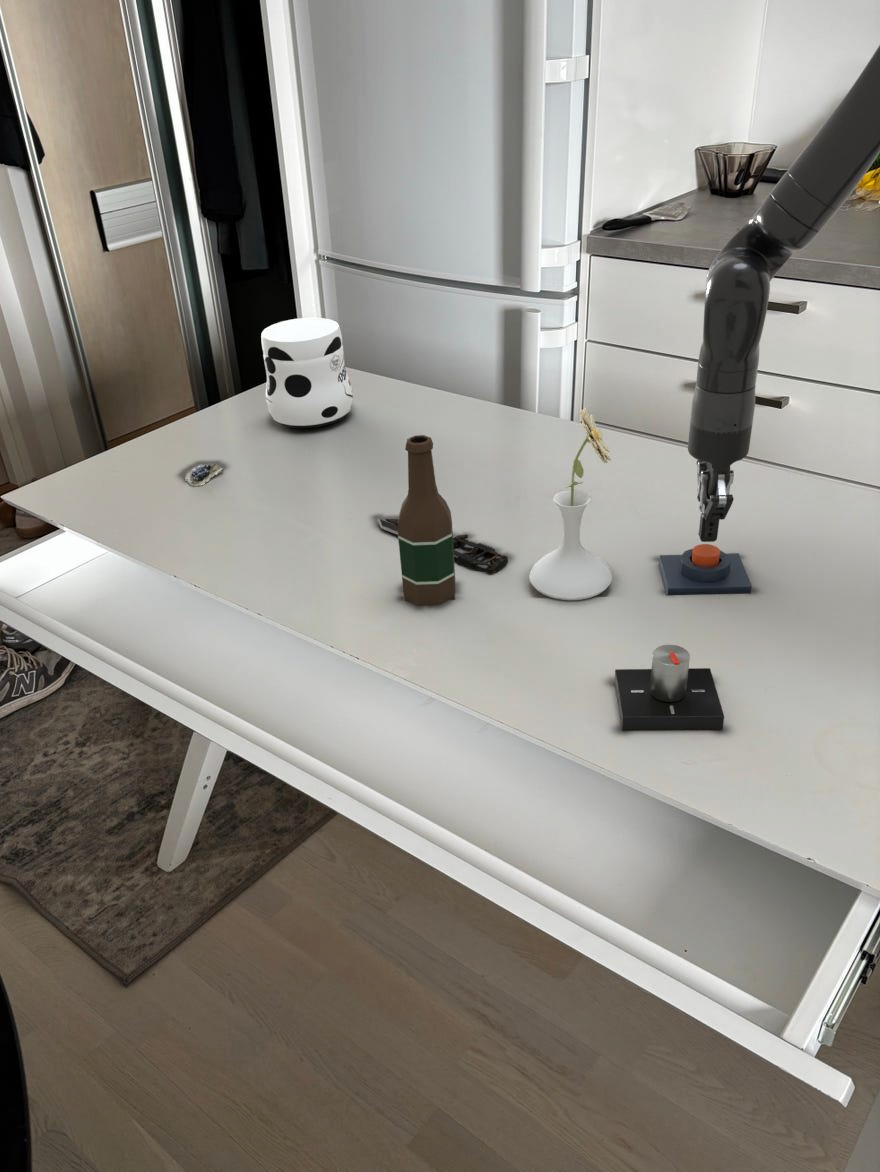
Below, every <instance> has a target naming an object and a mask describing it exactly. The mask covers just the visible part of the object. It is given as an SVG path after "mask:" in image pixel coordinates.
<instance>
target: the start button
mask: <svg viewBox="0 0 880 1172" xmlns="http://www.w3.org/2000/svg"><path fill="white" fill-rule="evenodd" d="M692 549H693V553H692V563H694V564H695V565H699V566H703V567H713V566H716V565H718V563H719V558H720V550H721V549H720V548H719V547H718V546H716V545H714V544H710V543H700V544H697V545H695V546H694V547H693V548H692Z"/></svg>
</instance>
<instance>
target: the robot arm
mask: <svg viewBox="0 0 880 1172" xmlns="http://www.w3.org/2000/svg"><path fill="white" fill-rule="evenodd" d="M879 154H880V44H879V45H878V46H877V48H876V49H875V51H874V53H873V55H872V56H871V58H870V59H869V61H868V62H867V64H866V65H865V66H864V68H863V70H862V71H861V72H860V74H859V76H858V78H857V79H856V81H855V82H854V83H853V85H852V86H851V88H850V89H849V90H848V92H846V94H845V96H844V97H843V99H842V100H841V101H840V102H839V104H838V105H837V107H836V108H835V109H834V110H833V112H832V113H831V114H830V115H829V117H828V118H827V120H826V121H825V122H824V124H823V125H822V126H821V127H820V128H819V130H818V131H817V132H816V134H815V135H814V136H813V137H812V139H811V140H810V141H809V142H808V144H807V145H806V146H805V148H804V149H803V150H802V151H801V152H800V154H799V155H798V156H797V157H796V159H795V160H794V161H793V162H792V164H791V165H790V166H789V168H788V169H787V170H786V172H785V173H784V174H783V175H782V177H781V178H780V179H779V181H778V182H777V183H776V184H775V186H774V187H773V188H772V190H771V191H770V193H768V195H767V196H766V198H764V200H763V202H762V204H761V205H760V206H759V208H758V210H757V211H756V212H755V213H754V214H753V215H752V216H751V217H750V218H749V219H748V220H747V221H746V222H745V224H743V226H742V227H740V228H739V230H738V231H737V232H736V233H735V234H734V235H733V236H732V237H731V238H730V239H729V241H728V242H727V243H726V244H725V245H724V246H723V247H722V249H721V250H720V251H719V252H718V254H717V255H716V256H715V258H714V259H713V261H712V262H711V264H710V266H709V268H708V271H707V274H706V281H705V292H704V307H703V308H704V311H703V328H702V330H703V331H702V342H701V345H700V349H699V353H698V361H697V371H696V380H695V381H696V382H695V387H694V392H693V397H692V401H691V408H690V409H691V413H690V420H689V429H688V430H689V431H688V439H687V440H688V441H687V451H688V454H689V455H690V456H691V457H693V458H694V459H695V460H696V468H697V470H696V473H697V496H696V497H697V502H698V503H699V506H698V510H699V512H700V516H699V517H700V518H699V527H698V537H699V540H700V542H702V543H713V542H716V541H718V535H719V528H720V527H719V526H720V520H725V519H726V517H727V515H728V513H729V511H730V509H731V507H732V505H733V502H734V499H735V498H734V496H733V494H732V493H731V494H730V492H731V491H730V490H731V486H732V484H734V483H733V482H734V476H735V471H734V469H731V466H732V465H733V464H735V463H737V462H739V461H742V460H744V459H745V458H746V457H747V456H748V454H749V451H750V444H751V437H752V430H753V422H754V416H755V408H756V387H757V378H758V370H759V365H760V364H759V362H760V343H761V339H762V334H763V330H764V325H765V322H766V317H767V311H768V306H769V300H770V292H771V281H772V280H773V279H774V277H775V276H776V275H777V273H778V272H780V270H781V269H782V268H783V266H785V264H786V263H787V262H788V260H790V259H791V257H792V256H793V255H794V254H795V253H796V252H800V251H802V250H804V249H805V248H806V247H807V246H809V245H810V244H811V242H813V241H814V240H815V238H816V237H817V236H818V235H819V234H820V232H821V231H823V229H824V228H825V227H826V226H827V224H828V223H829V222H830V221H831V219H832V218H834V216H835V215H836V213H837V212H838V211H839V210H840V208H841V207H842V206H843V204H844V203H846V201H847V200H848V199H849V198H850V196H851V195H852V193H854V191H855V189H856V188H857V187H858V185H859V184H860V183H861V181H862V180H863V178H865V175H866V174H867V172H868V171H869V170H870V168H871V166H872V165H873V164H874V162H875V161H876V159H877V158H878V156H879Z"/></svg>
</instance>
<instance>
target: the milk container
mask: <svg viewBox="0 0 880 1172" xmlns="http://www.w3.org/2000/svg"><path fill="white" fill-rule="evenodd" d="M260 335H261V336H260V339H261V349H262V353H263V354H262V357H263V362H264V368H265V374H266V386H265V402H266V408H267V410H268V414H269V416H270V417H271V418H272V420H273V422H276V423H277V424H279V425H281V426H284V427H287V428H292V429H311V428H319V427H323V426H329V425H331V424H335V423H336V422H339V421H341V420H342V419H343V418H345V417H346V416H347V415H348V414H349V413H350V411H351V410H352V407H353V399H354V398H353V397H354V396H353V395H354V394H353V387H352V383H351V380H350V377H349V375H348V373H347V368H346V365H345V353H344V345H343V335H342V330H341V327H340V325H339V323H338V322H337V321H335V320H333V319H331V318H326V317H325V318H324V317H301V318H300V317H299V318H293V319H288V320H281V321H278V322H277V323H274V324H271V325H269V326H267V327H266V328H265V327H264V329H263V330H262V332H261V334H260Z"/></svg>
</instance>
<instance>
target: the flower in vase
mask: <svg viewBox="0 0 880 1172" xmlns="http://www.w3.org/2000/svg"><path fill="white" fill-rule="evenodd" d="M579 415H580V416H579V417H580V420H581V424H582V427H583V429H584V431H585V434H586V436H585V438H584V440H583V442H582V443H581V446H580V448H579V450H578V451H577V454H576V456H575V458H574V459H573V462H572V463H573V464H572V471H571V482H570V484H567V485H565V486H564V487H563V489H566V488H570V489H568V490H561V491H559V492H557V493H555V494H554V496H553V499H552V500H553V502H554V504H555V505H556V506H557V507H558V509H559V511H560V514H561V518H562V519H561V520H562V528H563V529H562V531H563V532H562V533H563V535H562V542H561V544H560V545H559V547H558V548H556V549H554V550H553V551H550V552H548V554H544V555H543V556H542V557H541V558H540V559H538V560H537V561H536V562H535V563H533V566H532V567H531V570H530V572H529V582H530V583H531V585H532V586H533V588H535V590H536V591H537V592H539V593H540V594H542V595H544V596H546V597H548V598H552V599H555V600H562V601H581V600H586V599H591V598H593V597H596V596H598V595H600V594H601V593H603V592H604V591H605V590H606V589H607V588H608V587H609V586H610V585H611V583H612V580H613V574H612V571H611V568H610V567H609V565H608V564H607V563H606V562H605V561H604V560H603V559H602V558H601V557H599V556H598V555H596V554H594V553H593V552H592V551H590V550H588V549H586V548H585V547H584V546H583V545H582V543H581V526H582V525H581V524H582V519H583V515H584V512H585V510H586V508H587V506H589V505H590V503H591V502H592V496H591V494H590V493H588V492H587V491H583V490H578V489H575V486H577V485H580V484H583V483H584V481H575V475H576V476H577V477H578V478H579V479H582V478H583V477H584V467H583V465H582V462H581V460H579V457H580V456H581V453H582V451H583V449H584V448H585V447H586V444H587V443H589V444H591V446H592V449H593V451H594V452H595V454H596V455H597V456H598V457H599V459H600V460H601V461H602V463H603V464H607V463H609V461H612V458H611V456H610V455H609V453H610V452H611V451H610V448H609V446H608V445H607V444H606V443H605V440H604V439H603V437H604V433H603V431H602V430H601V429H599V428H598V427H597V424H596V421H595V417H594V416H593V414H589V412H588V410H587V408H586V407H584V408H583V409H581V408H580V409H579Z"/></svg>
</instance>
